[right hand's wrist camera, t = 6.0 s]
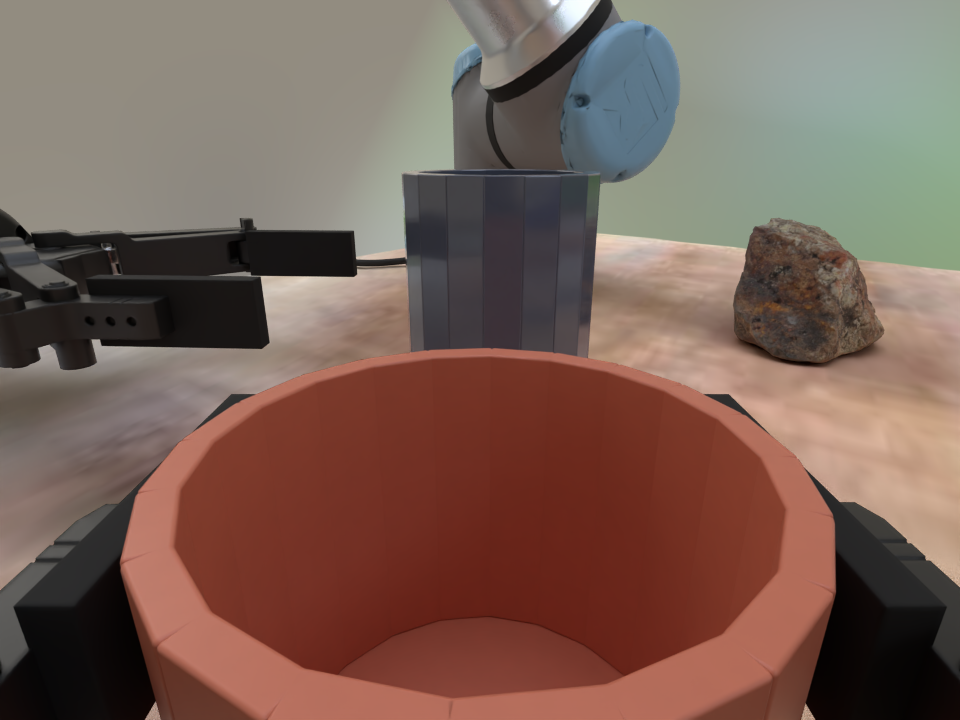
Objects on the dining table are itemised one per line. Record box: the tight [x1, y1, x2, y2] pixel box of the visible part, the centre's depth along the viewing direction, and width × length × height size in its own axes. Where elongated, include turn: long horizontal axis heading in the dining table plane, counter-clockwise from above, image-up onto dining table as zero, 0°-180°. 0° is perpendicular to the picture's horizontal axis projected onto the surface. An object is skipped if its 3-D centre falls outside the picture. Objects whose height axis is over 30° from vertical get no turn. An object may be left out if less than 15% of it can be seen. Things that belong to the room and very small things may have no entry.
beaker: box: [402, 169, 601, 358], centre depth 28 cm, size 9×9×12 cm
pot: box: [120, 348, 836, 720], centre depth 11 cm, size 10×10×9 cm
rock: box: [733, 218, 884, 363], centre depth 41 cm, size 14×9×10 cm
